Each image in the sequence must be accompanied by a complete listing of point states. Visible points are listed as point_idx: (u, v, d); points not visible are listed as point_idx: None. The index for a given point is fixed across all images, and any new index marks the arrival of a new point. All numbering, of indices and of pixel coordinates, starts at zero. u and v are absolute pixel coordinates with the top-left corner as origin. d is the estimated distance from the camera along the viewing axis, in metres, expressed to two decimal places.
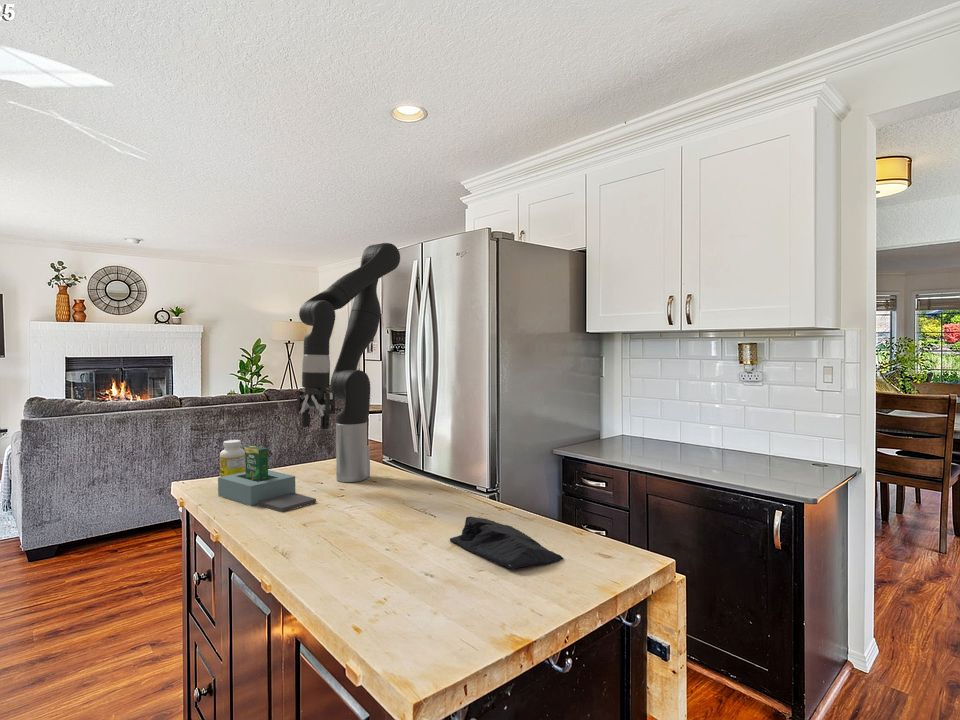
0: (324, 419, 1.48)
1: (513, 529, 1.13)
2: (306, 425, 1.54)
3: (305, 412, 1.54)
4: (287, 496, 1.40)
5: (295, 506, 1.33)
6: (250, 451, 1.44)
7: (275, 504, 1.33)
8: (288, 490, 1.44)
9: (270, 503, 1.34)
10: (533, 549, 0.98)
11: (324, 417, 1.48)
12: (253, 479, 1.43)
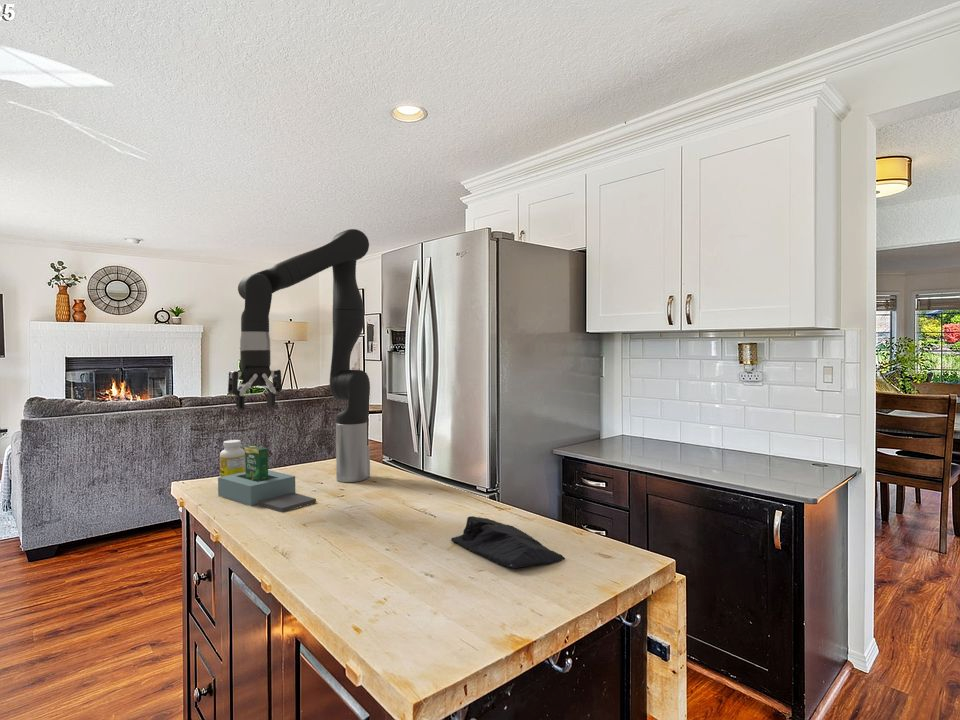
0: (273, 397, 1.48)
1: (514, 529, 1.13)
2: None
3: None
4: (287, 496, 1.40)
5: (295, 506, 1.33)
6: (250, 451, 1.44)
7: (275, 504, 1.33)
8: (288, 490, 1.44)
9: (270, 503, 1.34)
10: (534, 549, 0.98)
11: (274, 394, 1.48)
12: (253, 479, 1.43)
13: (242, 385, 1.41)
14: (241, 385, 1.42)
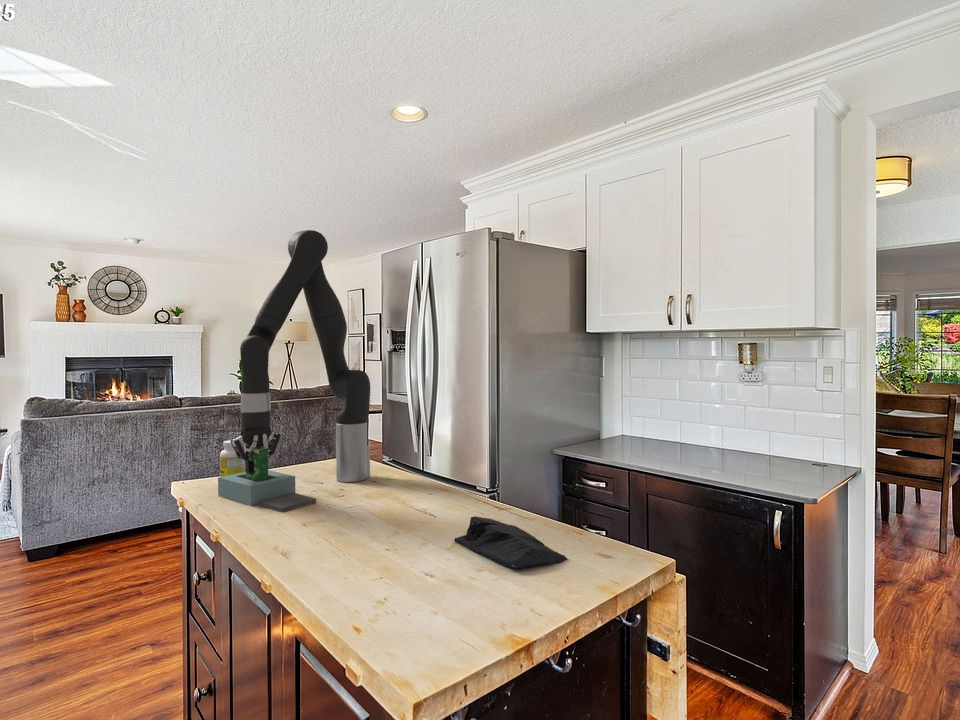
0: None
1: (518, 529, 1.13)
2: None
3: None
4: (287, 496, 1.40)
5: (295, 506, 1.33)
6: None
7: (275, 504, 1.33)
8: (288, 490, 1.44)
9: (270, 503, 1.34)
10: (537, 549, 0.98)
11: None
12: (253, 479, 1.43)
13: (248, 449, 1.43)
14: (247, 449, 1.43)
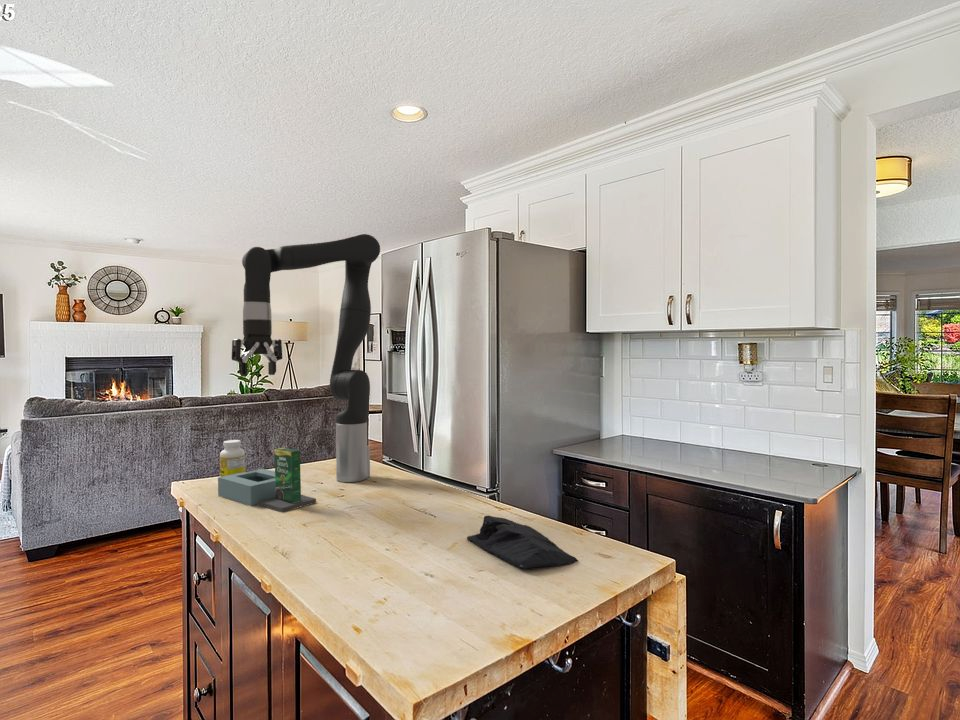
0: (274, 365, 1.56)
1: (531, 529, 1.12)
2: None
3: None
4: None
5: (295, 506, 1.33)
6: (280, 453, 1.36)
7: (275, 504, 1.33)
8: None
9: (270, 503, 1.34)
10: (546, 550, 0.98)
11: (275, 363, 1.56)
12: (284, 483, 1.35)
13: (245, 352, 1.49)
14: (244, 352, 1.50)
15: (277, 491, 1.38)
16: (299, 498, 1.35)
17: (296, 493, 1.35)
